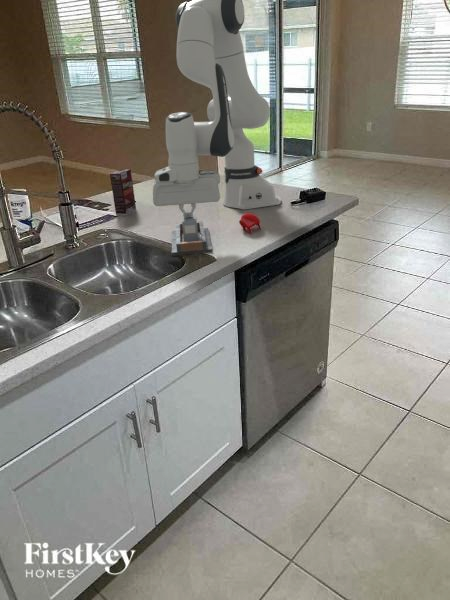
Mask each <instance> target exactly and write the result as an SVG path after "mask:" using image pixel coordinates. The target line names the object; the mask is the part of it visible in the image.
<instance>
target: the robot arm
mask: <svg viewBox="0 0 450 600" xmlns="http://www.w3.org/2000/svg"><path fill="white" fill-rule="evenodd" d="M244 22H245V7H244V2H243V0H187V1H185V2H183V3H180V5H179V6H178V7H177V10H176V12H175V25H176V29H177V36H176V37H177V39H176V56H175V57H176V64H177V67H178V69H179V71H180V72H181V74H182V75H183V76H185V77H186V78H187V79H189V80H191V81H192V82H195V83H196V84H199V85H202V86H204V87H206V88H209V90H211V95H212V99H211V100H209V102H208V104H207V106H206V107H207V108H206V114H207V118H208V121H194V117H193V114H192V113H190V112H186V111H178V112H174V113H170V114H169V115H168V116H167V117H166V118H165V145H166V147H165V148H166V150H167V152H168V161H167V166H166V167H164V168H161V169H158V170H157V171H156V172H154V184H153V186H152V187H153V188H152V203H153V205H154V206H155V207H165V206H166V207H167V206H178V209H179V210H180V212H181V213H182V215H183V216H184V218H193V214H194V212H195V210H196V207H197V205H196V204H203V203H217V202H219V201H220V199H221V194H220V193H221V192H220V188H219V185H220V183H221V175H220V173H219V172H218V171H215V170H214V169H210V170H200V166H199V165H200V164H199V156H211V157H219V158H220V157H221V158H222V157H223V158H224V163H225V164H224V165H225V166H224V170H223V171H224V172H223V173H224V174H223V176H224V182H225V190H224V191H225V193H224V199H223V206H226V207H227V208H232V209H233V208H234V209H240V210H251V209H256V208H257V209H258V208H259V209H260V208H263V207H272V206H278V205H280V204H281V203H282V198H281V197H280V196H279V195H277V194H276V192H275V187H274V186H273V184H272V183H271V182H270V181H268V179H266V178H264V177H263V176H261V175H262V173H263V169H262V167H259V166H257V165H255V147H254V144H253V142H252V140H250V139H249V138H248V137H247V136H246V134H245V132H244V129H245V130H247V129H248V130H253V129H260V128H262V127H264V126H266V125H267V123H268V121H269V120H270V116H271V108H270V104H269V101H267V99H266V98H264V97H263V96H262V95H261V94H259V92H258V91H257V89H256V87H255V86H254V84H253V83H252V81H251V78H250V75H249V73H248V69H247V68H248V67H247V63H246V58H245V52H244V46H243V40H242V36H241V32H240V30H241V29H242V26H243V25H244ZM184 205H190V207H191V209H190V210H185V209H184Z"/></svg>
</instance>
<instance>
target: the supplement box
mask: <svg viewBox="0 0 450 600" xmlns="http://www.w3.org/2000/svg"><path fill="white" fill-rule="evenodd" d="M109 177H110V184H111V190H112V198H113V203H114V210H115V211H114V212H115V216H119V217H121V216H122V217H124V216H126V217H127V216H128V215H130V214H131V213H133V212H134V211H137V205H136V199H135V192H134V191H135V190H134V185H133V184H134V183H133V177H132V169H129V168H128V169H127V168H120V169H118V170H116V171H114V172H112V173H109Z"/></svg>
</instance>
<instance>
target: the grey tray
mask: <svg viewBox="0 0 450 600" xmlns="http://www.w3.org/2000/svg"><path fill="white" fill-rule="evenodd" d="M175 226H176V227H175V230H171V256H173V257H174V256H175V257H176V256H184V255H185V256H186V255H197V254H208V253H213V246H212V242H211V236H210V231H209V230H210V229H209V227H205V226H204V222H203V220H200V221H198V220H197V231H198V241H192V242H184V236H183V226H182V222H177V223H176V224H175Z"/></svg>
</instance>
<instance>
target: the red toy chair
mask: <svg viewBox="0 0 450 600" xmlns="http://www.w3.org/2000/svg"><path fill="white" fill-rule="evenodd" d="M238 223H239V224H240V227H242V230H243V231H245V230H246V229H247V231H248V233H249V234H251V233H253V231H252V228H253V227H255V226H257V227H258V228H259V229H261V227H262V226H261V225H260V224H261V221H260V218H259V216H257V215H256V214H253V213H250V212H245V213H243V214H242V215H241V216H240V219H239V221H238Z"/></svg>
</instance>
